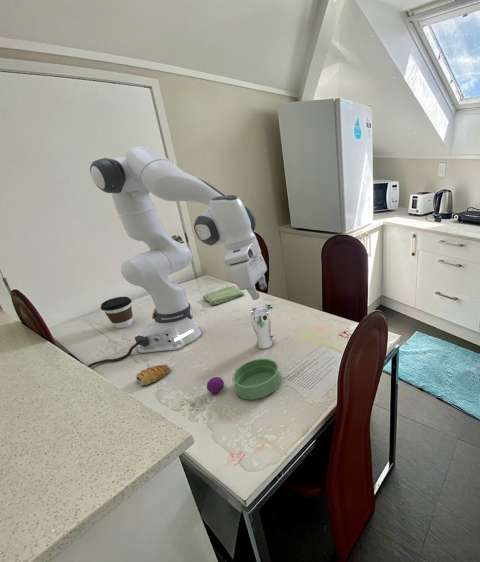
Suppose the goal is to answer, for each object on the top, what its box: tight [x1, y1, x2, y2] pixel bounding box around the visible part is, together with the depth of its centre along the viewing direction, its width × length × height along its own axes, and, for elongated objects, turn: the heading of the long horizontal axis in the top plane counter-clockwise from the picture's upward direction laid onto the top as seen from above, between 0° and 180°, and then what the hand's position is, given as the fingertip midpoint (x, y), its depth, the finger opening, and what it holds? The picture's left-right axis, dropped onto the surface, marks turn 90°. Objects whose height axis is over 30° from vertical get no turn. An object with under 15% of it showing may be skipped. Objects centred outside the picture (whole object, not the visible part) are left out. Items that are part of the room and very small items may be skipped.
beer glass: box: [250, 307, 274, 349], centre depth 124 cm, size 7×7×15 cm
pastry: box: [135, 364, 170, 386], centre depth 108 cm, size 9×7×4 cm
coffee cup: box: [100, 296, 134, 329], centre depth 139 cm, size 11×11×12 cm
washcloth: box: [202, 285, 245, 306], centre depth 166 cm, size 13×18×3 cm
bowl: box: [232, 358, 281, 400], centre depth 104 cm, size 14×14×6 cm
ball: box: [206, 376, 225, 394], centre depth 102 cm, size 5×5×5 cm
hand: (260, 293), depth 96 cm, fingers open, 8 cm apart
